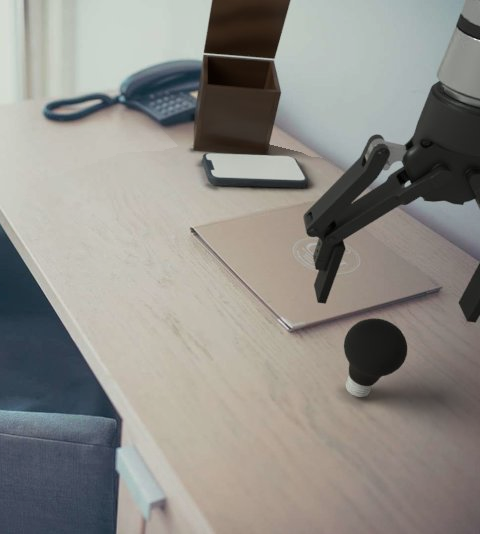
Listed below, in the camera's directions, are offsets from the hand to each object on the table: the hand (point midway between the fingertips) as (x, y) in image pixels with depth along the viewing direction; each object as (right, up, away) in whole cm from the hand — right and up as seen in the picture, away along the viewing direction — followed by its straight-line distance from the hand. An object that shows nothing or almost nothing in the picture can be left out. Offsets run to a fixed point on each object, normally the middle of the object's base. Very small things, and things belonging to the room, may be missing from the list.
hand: (392, 303), depth 61 cm
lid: (-1, +46, +48) cm, 66 cm away
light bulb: (0, -10, +8) cm, 13 cm away
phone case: (-1, +19, +45) cm, 49 cm away
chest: (-3, +28, +56) cm, 63 cm away
